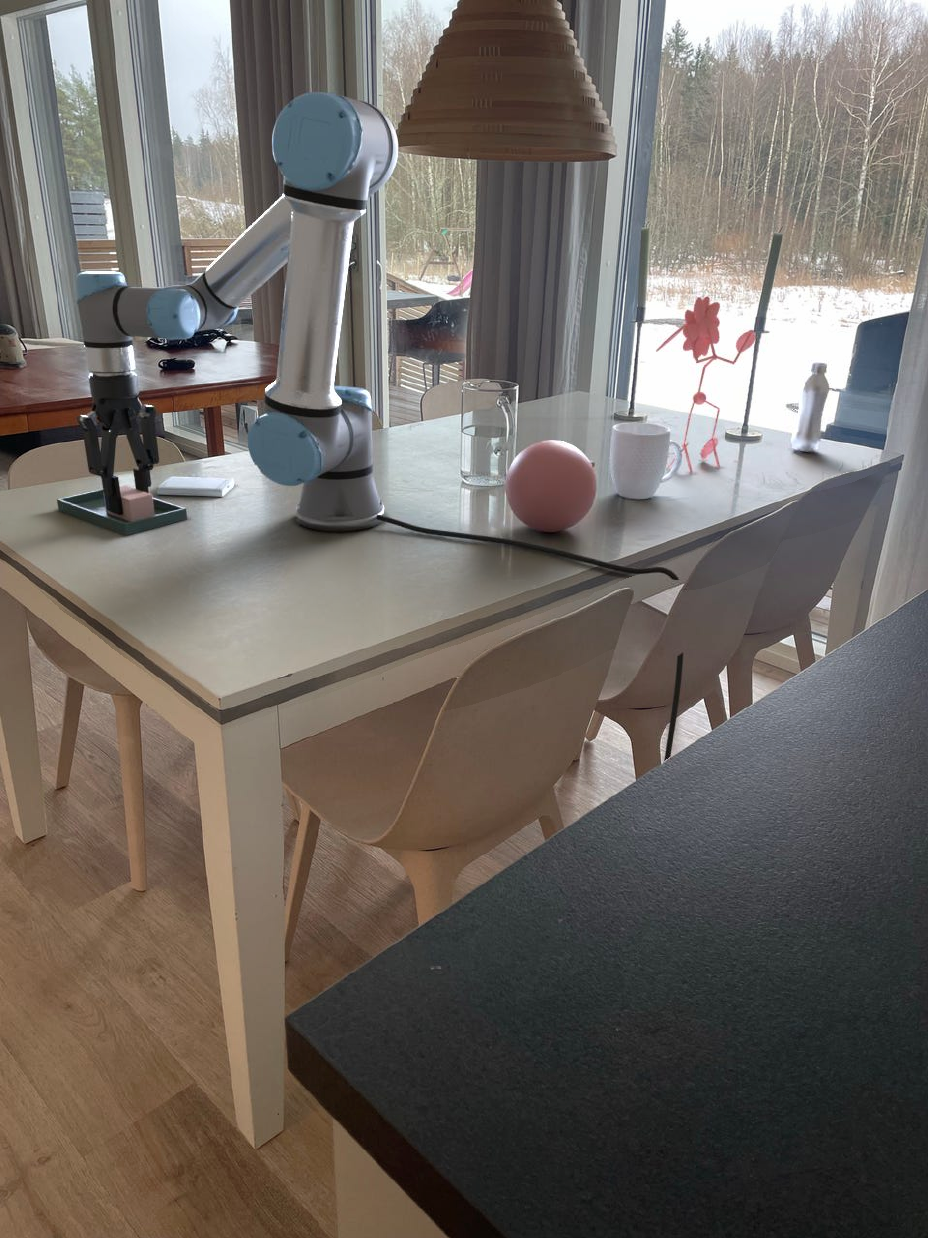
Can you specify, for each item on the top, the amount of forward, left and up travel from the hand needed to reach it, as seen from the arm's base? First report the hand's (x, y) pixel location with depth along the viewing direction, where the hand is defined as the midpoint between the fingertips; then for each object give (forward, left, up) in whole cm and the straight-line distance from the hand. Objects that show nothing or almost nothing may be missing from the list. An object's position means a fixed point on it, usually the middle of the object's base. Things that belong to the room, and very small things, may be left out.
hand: (130, 509), depth 161 cm
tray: (+3, 0, -2) cm, 3 cm away
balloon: (-58, -46, -2) cm, 74 cm away
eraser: (0, 0, -1) cm, 1 cm away
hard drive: (+6, -18, -2) cm, 19 cm away
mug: (-59, -74, -2) cm, 95 cm away
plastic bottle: (-70, -133, -2) cm, 150 cm away
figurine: (-54, -102, -2) cm, 115 cm away
